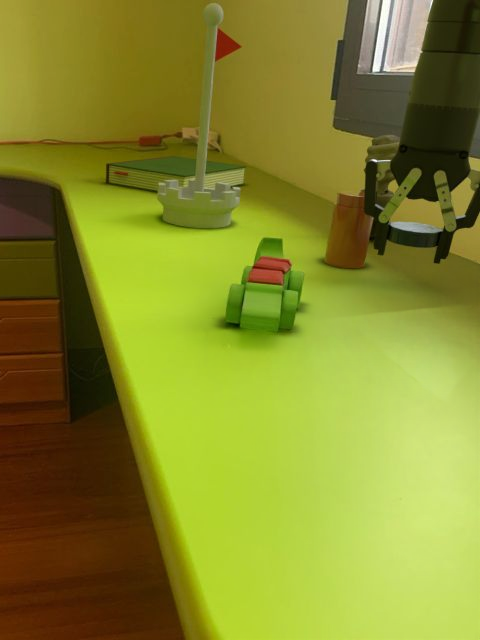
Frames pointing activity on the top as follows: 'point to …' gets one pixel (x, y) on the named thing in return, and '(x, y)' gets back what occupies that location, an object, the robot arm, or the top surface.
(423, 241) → the lid
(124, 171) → the hardcover book
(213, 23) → the flag stand
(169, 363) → the top surface
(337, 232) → the jar
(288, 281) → the toy crocodile
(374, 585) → the top surface
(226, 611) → the top surface
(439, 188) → the robot arm
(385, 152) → the light bulb
